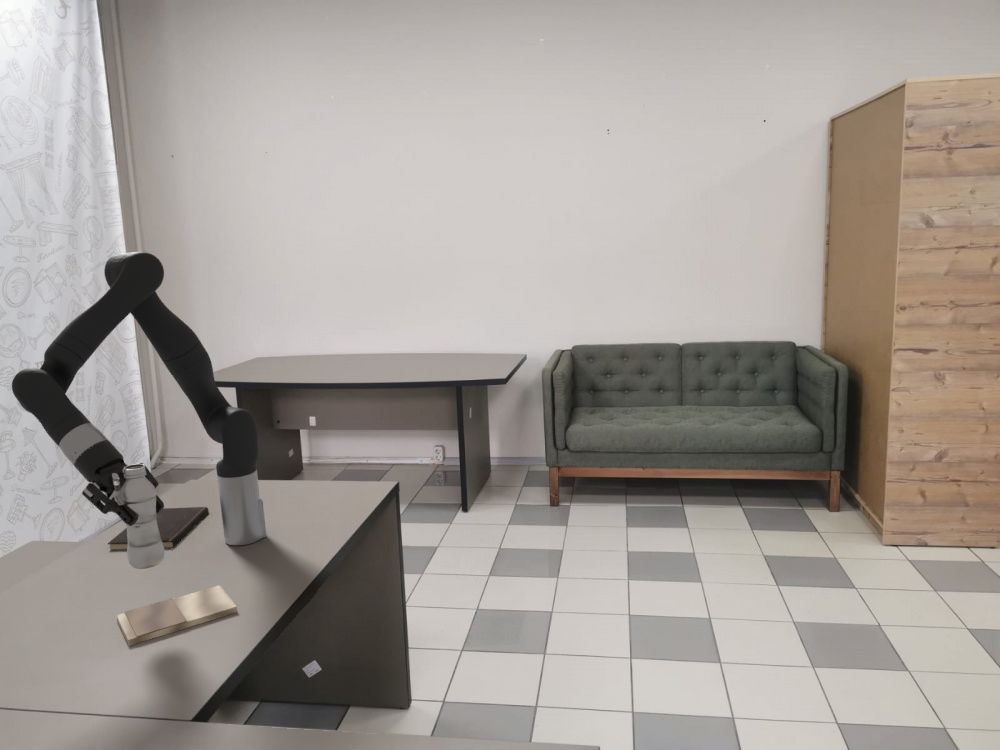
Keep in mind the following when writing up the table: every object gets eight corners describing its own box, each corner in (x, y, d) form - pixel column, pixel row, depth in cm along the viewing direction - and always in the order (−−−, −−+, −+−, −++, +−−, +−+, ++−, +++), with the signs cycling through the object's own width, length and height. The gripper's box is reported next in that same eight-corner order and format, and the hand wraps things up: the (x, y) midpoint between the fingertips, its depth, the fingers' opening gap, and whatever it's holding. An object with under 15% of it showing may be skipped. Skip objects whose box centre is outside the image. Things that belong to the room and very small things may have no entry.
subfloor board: (220, 590, 166) (219, 584, 165) (237, 611, 156) (236, 605, 156) (117, 620, 155) (116, 614, 154) (128, 645, 145) (127, 639, 145)
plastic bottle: (152, 574, 147) (139, 472, 143) (121, 572, 148) (106, 471, 144) (173, 559, 153) (160, 461, 149) (142, 557, 155) (129, 461, 151)
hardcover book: (108, 552, 190) (107, 543, 189) (150, 516, 212) (149, 508, 212) (174, 549, 190) (173, 540, 189) (209, 514, 212) (208, 506, 212)
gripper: (68, 450, 142) (128, 518, 140) (128, 430, 155) (184, 491, 154) (50, 476, 144) (109, 542, 143) (111, 454, 158) (165, 514, 156)
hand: (147, 516), depth 148 cm, fingers closed on plastic bottle, 6 cm apart
